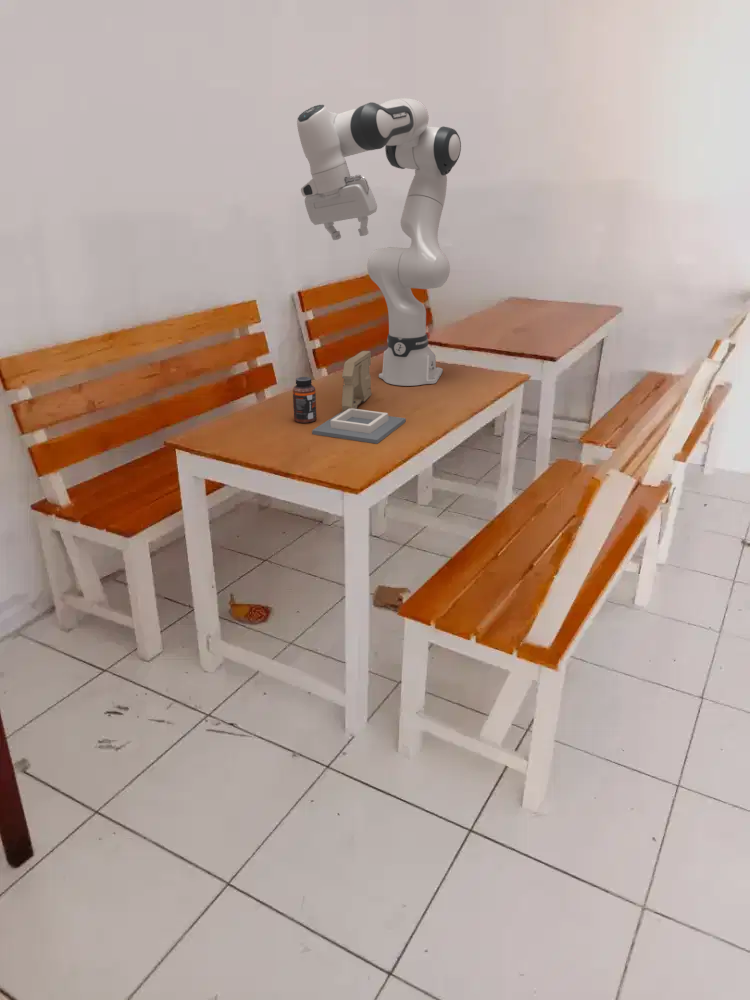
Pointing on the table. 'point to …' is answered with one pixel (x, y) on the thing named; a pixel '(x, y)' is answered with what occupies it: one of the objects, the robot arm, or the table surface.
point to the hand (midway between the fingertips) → (350, 237)
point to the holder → (360, 425)
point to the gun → (356, 380)
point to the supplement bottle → (304, 400)
